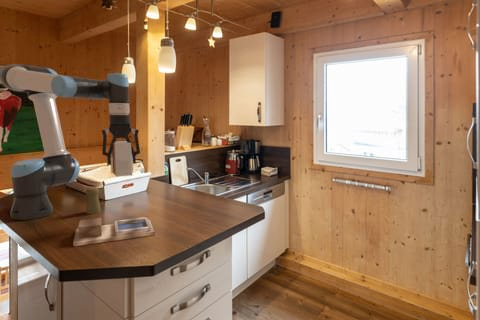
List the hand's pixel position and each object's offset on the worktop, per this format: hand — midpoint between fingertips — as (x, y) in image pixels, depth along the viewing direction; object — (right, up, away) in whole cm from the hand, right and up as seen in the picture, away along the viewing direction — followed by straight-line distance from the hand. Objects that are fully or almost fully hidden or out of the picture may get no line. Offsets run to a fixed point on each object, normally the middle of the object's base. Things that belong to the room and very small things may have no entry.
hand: (122, 171), depth 126 cm
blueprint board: (+2, -22, -12) cm, 25 cm away
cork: (-17, -18, +12) cm, 28 cm away
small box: (0, -1, 0) cm, 1 cm away
